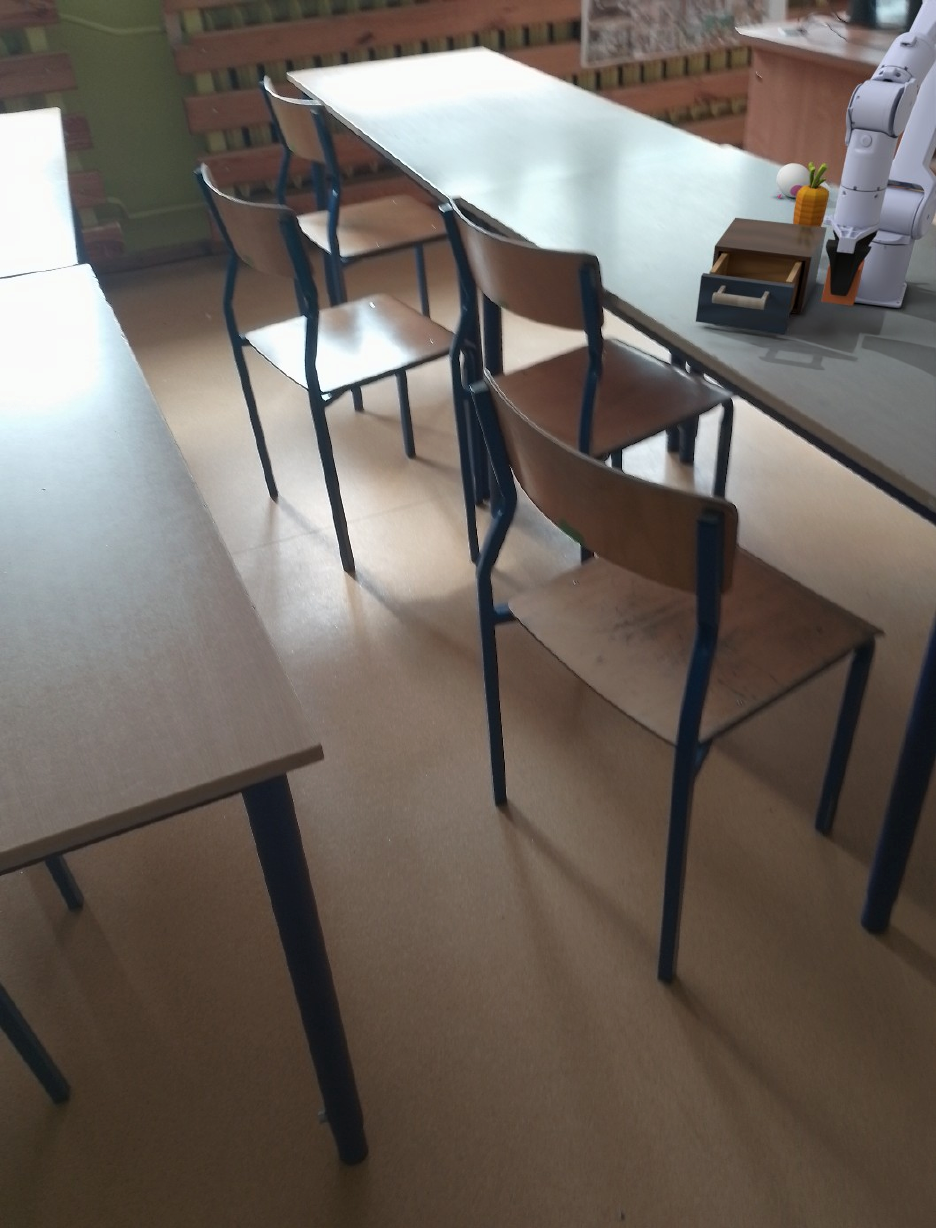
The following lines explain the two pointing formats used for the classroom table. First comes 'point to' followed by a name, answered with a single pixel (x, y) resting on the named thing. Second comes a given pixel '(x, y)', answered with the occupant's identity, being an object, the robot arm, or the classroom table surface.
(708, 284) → the drawer
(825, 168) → the carrot
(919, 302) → the classroom table surface
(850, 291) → the block
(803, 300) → the cabinet
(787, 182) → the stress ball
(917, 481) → the classroom table surface
